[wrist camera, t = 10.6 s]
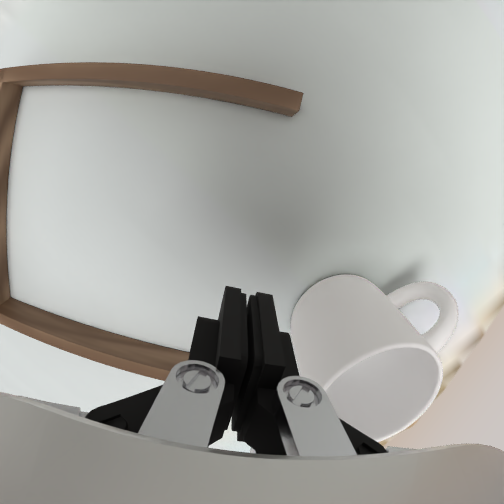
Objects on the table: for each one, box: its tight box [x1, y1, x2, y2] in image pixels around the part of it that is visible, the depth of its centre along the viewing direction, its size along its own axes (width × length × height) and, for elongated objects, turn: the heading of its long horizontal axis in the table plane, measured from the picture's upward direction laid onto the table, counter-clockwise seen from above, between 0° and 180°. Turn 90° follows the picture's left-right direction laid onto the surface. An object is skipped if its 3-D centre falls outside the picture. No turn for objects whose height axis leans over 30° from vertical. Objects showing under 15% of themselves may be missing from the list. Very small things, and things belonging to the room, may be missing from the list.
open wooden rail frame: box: [0, 62, 303, 381], centre depth 20 cm, size 22×24×3 cm
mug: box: [290, 274, 458, 442], centre depth 20 cm, size 12×8×10 cm
